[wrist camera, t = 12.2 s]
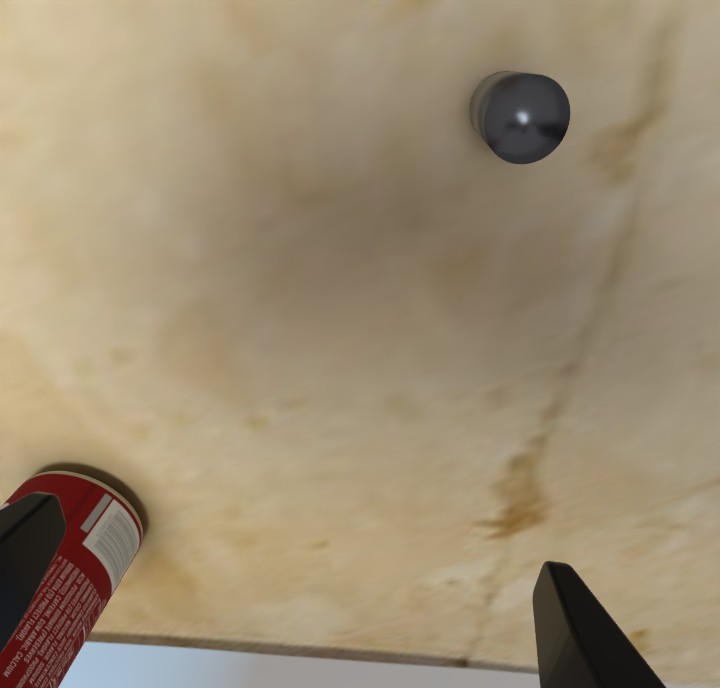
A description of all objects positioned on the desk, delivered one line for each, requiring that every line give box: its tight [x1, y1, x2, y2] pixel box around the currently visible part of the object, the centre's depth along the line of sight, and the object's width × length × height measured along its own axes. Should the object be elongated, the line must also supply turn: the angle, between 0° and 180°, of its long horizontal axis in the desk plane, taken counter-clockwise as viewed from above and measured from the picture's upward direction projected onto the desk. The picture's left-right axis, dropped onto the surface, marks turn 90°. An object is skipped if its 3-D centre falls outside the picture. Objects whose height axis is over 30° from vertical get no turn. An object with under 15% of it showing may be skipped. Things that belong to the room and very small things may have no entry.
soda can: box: [0, 471, 143, 688], centre depth 22 cm, size 7×7×12 cm
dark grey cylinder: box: [470, 71, 570, 164], centre depth 14 cm, size 2×2×4 cm
